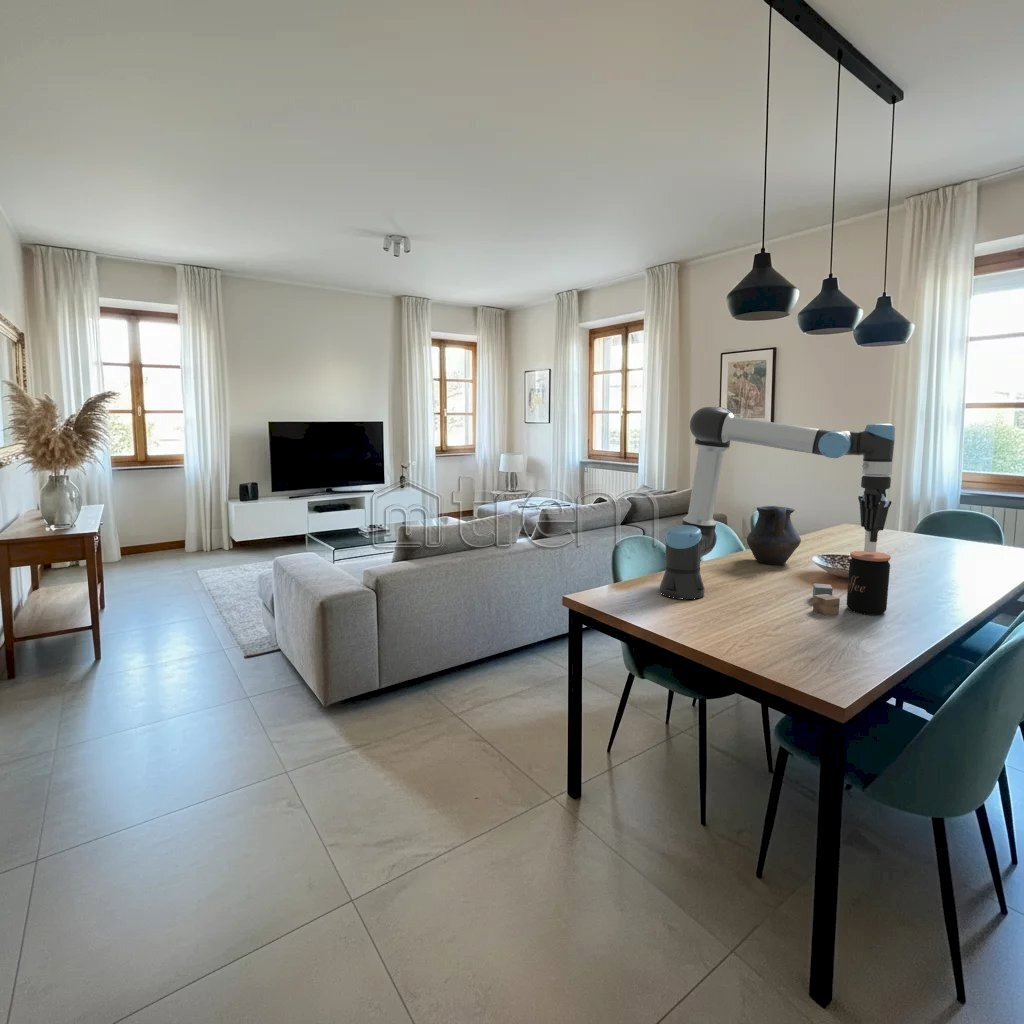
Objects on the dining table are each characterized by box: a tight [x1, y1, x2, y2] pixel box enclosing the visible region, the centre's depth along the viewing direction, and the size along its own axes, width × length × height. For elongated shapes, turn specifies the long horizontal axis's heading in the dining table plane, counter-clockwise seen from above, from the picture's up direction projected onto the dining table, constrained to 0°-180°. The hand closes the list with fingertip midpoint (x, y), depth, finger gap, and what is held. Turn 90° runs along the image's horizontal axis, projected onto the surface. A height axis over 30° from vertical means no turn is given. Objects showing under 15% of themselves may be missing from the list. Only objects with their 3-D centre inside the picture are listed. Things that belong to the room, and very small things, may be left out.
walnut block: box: [812, 594, 841, 616], centre depth 178 cm, size 5×5×5 cm
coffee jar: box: [846, 550, 892, 616], centre depth 178 cm, size 11×11×18 cm
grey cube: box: [812, 583, 833, 600], centre depth 190 cm, size 5×5×5 cm
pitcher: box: [746, 505, 802, 566], centre depth 240 cm, size 21×22×25 cm
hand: (869, 551), depth 177 cm, fingers closed
